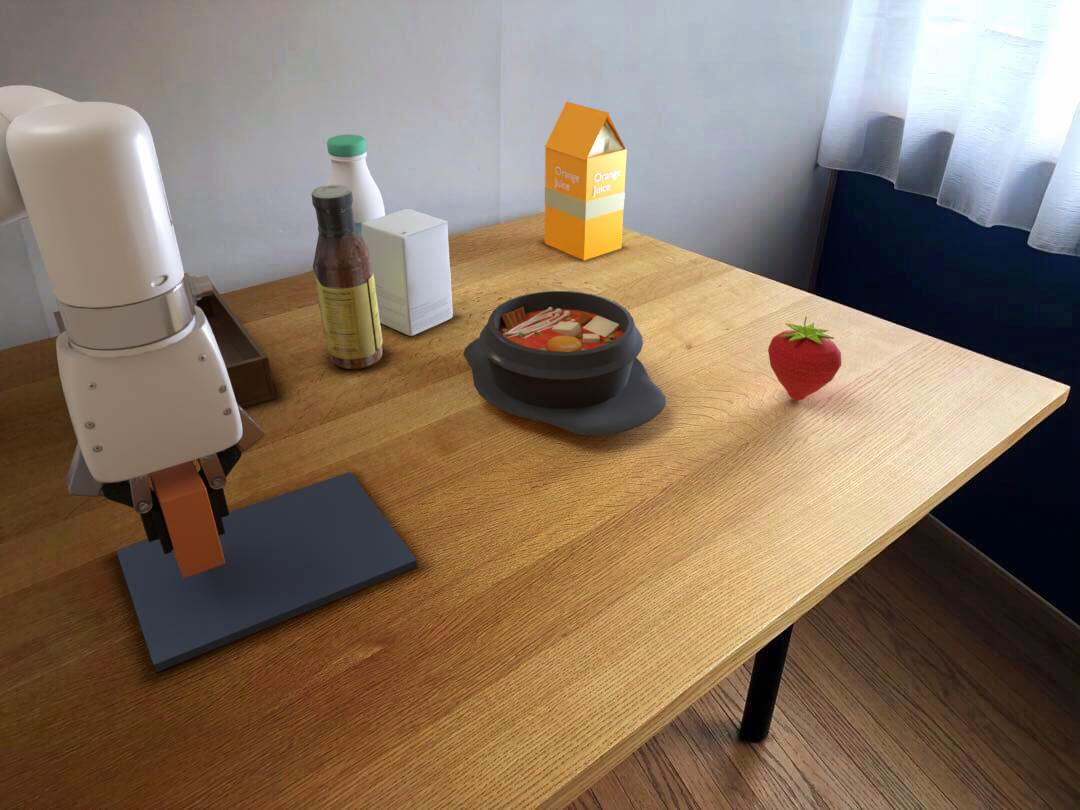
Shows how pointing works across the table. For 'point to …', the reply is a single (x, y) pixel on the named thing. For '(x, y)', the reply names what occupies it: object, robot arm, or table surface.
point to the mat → (264, 569)
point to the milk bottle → (355, 177)
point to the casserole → (565, 363)
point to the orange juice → (584, 183)
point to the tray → (233, 351)
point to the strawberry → (803, 359)
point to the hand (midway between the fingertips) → (190, 531)
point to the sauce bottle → (345, 282)
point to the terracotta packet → (188, 518)
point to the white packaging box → (410, 270)
